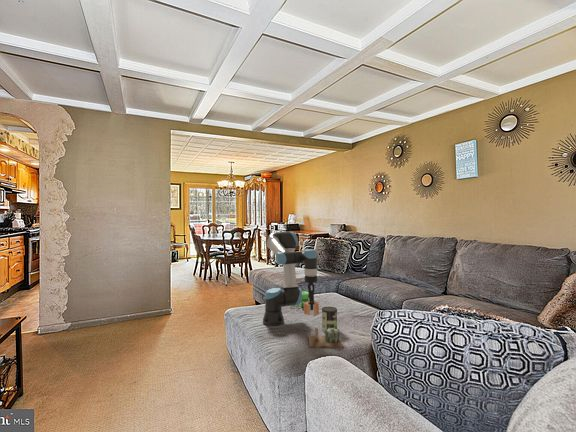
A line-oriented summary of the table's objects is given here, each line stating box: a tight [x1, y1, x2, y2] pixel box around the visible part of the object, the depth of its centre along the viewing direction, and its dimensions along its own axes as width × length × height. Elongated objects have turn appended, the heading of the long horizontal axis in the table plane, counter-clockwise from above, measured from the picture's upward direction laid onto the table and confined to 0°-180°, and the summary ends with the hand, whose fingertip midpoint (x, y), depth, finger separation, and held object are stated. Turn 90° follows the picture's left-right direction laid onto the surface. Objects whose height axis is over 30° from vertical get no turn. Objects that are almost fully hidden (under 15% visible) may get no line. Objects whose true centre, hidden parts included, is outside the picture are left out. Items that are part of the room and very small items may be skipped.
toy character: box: [288, 290, 309, 309], centre depth 250 cm, size 10×18×13 cm, turn 89°
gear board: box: [307, 327, 344, 349], centre depth 182 cm, size 19×14×8 cm
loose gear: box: [303, 300, 320, 316], centre depth 182 cm, size 9×9×6 cm
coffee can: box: [321, 306, 338, 333], centre depth 201 cm, size 10×10×14 cm
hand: (311, 312), depth 182 cm, fingers closed on loose gear, 9 cm apart
